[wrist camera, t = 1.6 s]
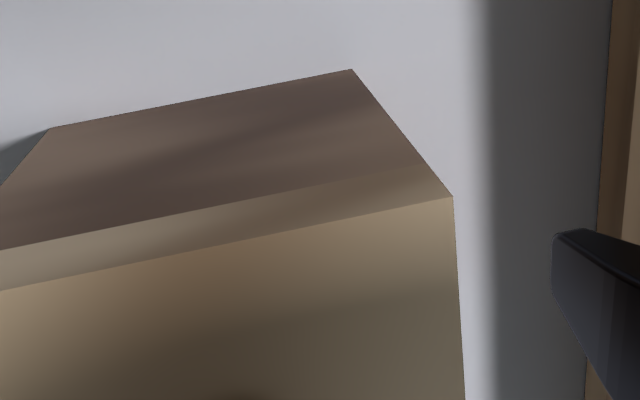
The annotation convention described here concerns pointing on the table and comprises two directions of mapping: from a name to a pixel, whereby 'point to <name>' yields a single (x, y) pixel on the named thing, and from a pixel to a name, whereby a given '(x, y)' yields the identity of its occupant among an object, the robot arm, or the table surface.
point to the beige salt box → (231, 255)
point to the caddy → (620, 145)
